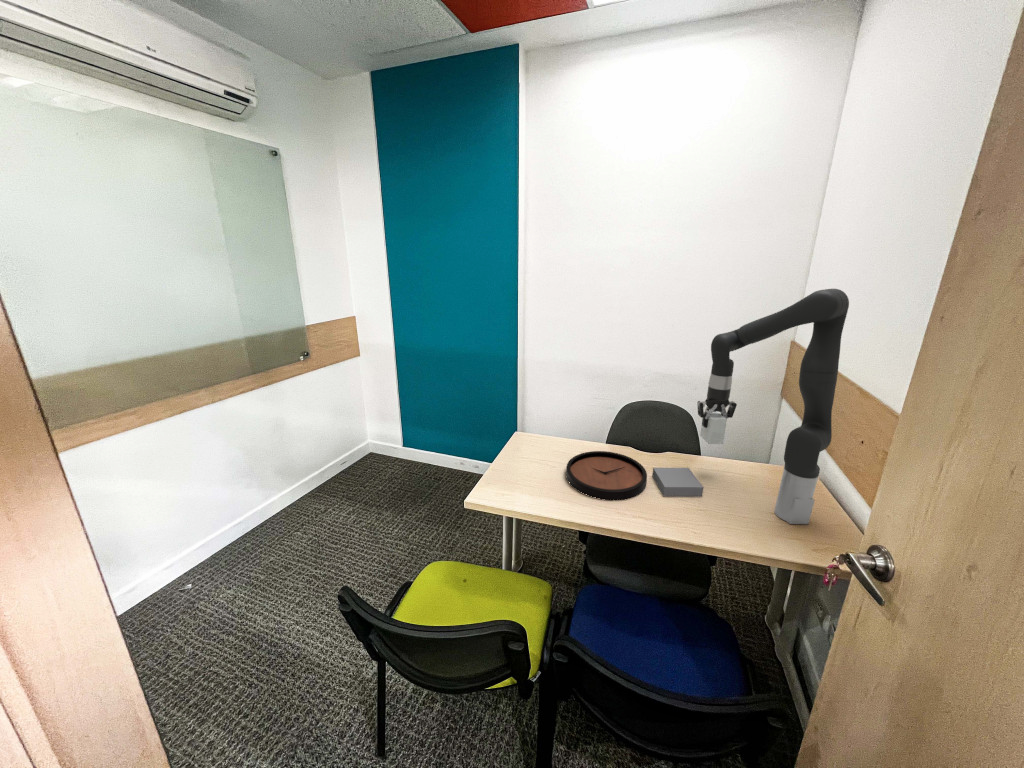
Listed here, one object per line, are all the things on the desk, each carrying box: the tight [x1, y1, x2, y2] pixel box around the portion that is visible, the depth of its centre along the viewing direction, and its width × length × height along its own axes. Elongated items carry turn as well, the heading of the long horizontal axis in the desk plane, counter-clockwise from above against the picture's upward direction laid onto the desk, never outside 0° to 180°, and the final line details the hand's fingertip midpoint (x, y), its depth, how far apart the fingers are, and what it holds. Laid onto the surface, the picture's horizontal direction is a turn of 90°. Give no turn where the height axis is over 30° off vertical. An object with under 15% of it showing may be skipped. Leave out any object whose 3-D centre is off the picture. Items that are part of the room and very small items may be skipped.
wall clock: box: [565, 450, 648, 501], centre depth 159 cm, size 31×4×31 cm
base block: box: [652, 467, 704, 498], centre depth 153 cm, size 14×14×4 cm
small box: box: [699, 411, 728, 445], centre depth 154 cm, size 8×6×10 cm
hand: (713, 426), depth 153 cm, fingers closed on small box, 5 cm apart
